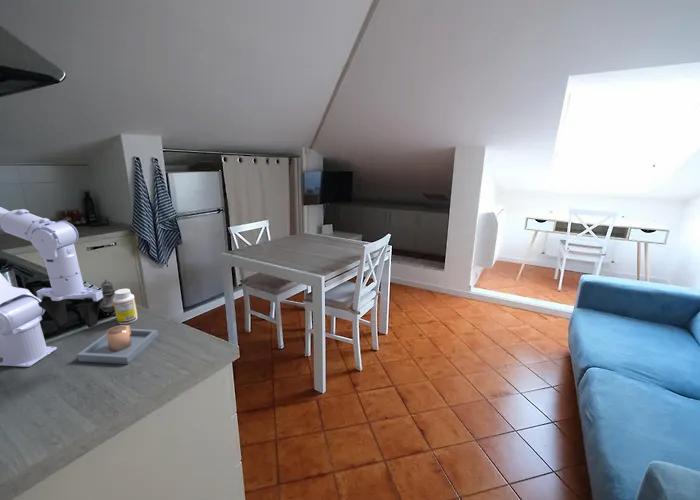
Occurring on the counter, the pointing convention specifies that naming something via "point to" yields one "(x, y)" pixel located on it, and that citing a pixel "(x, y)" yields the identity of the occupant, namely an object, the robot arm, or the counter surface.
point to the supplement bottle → (125, 306)
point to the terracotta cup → (118, 337)
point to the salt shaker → (107, 297)
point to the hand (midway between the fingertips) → (77, 324)
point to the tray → (104, 355)
